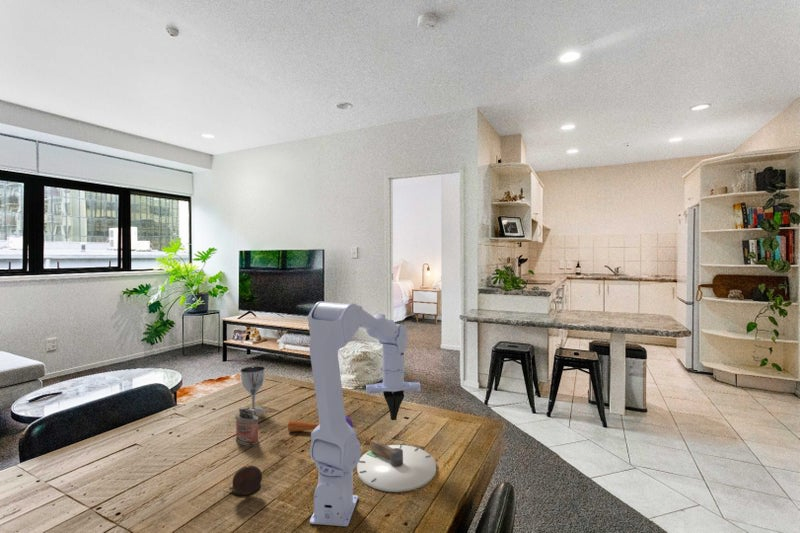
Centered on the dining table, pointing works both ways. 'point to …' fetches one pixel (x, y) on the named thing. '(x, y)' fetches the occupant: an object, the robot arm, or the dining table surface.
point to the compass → (246, 480)
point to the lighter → (247, 427)
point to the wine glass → (253, 382)
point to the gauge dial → (397, 470)
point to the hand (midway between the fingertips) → (393, 418)
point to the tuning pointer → (387, 452)
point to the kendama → (308, 425)
